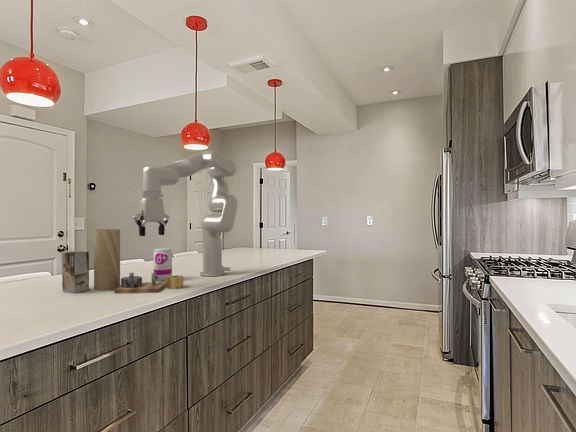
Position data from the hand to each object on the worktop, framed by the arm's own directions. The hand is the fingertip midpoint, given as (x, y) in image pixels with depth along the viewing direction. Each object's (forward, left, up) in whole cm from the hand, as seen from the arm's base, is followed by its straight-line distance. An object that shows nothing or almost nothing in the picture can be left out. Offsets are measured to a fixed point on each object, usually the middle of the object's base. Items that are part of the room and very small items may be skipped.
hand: (152, 235), depth 155 cm
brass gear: (-10, +1, -22) cm, 24 cm away
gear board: (+3, +4, -22) cm, 23 cm away
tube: (+19, 0, -23) cm, 29 cm away
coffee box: (+30, +4, -23) cm, 38 cm away
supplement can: (0, -17, -23) cm, 29 cm away
